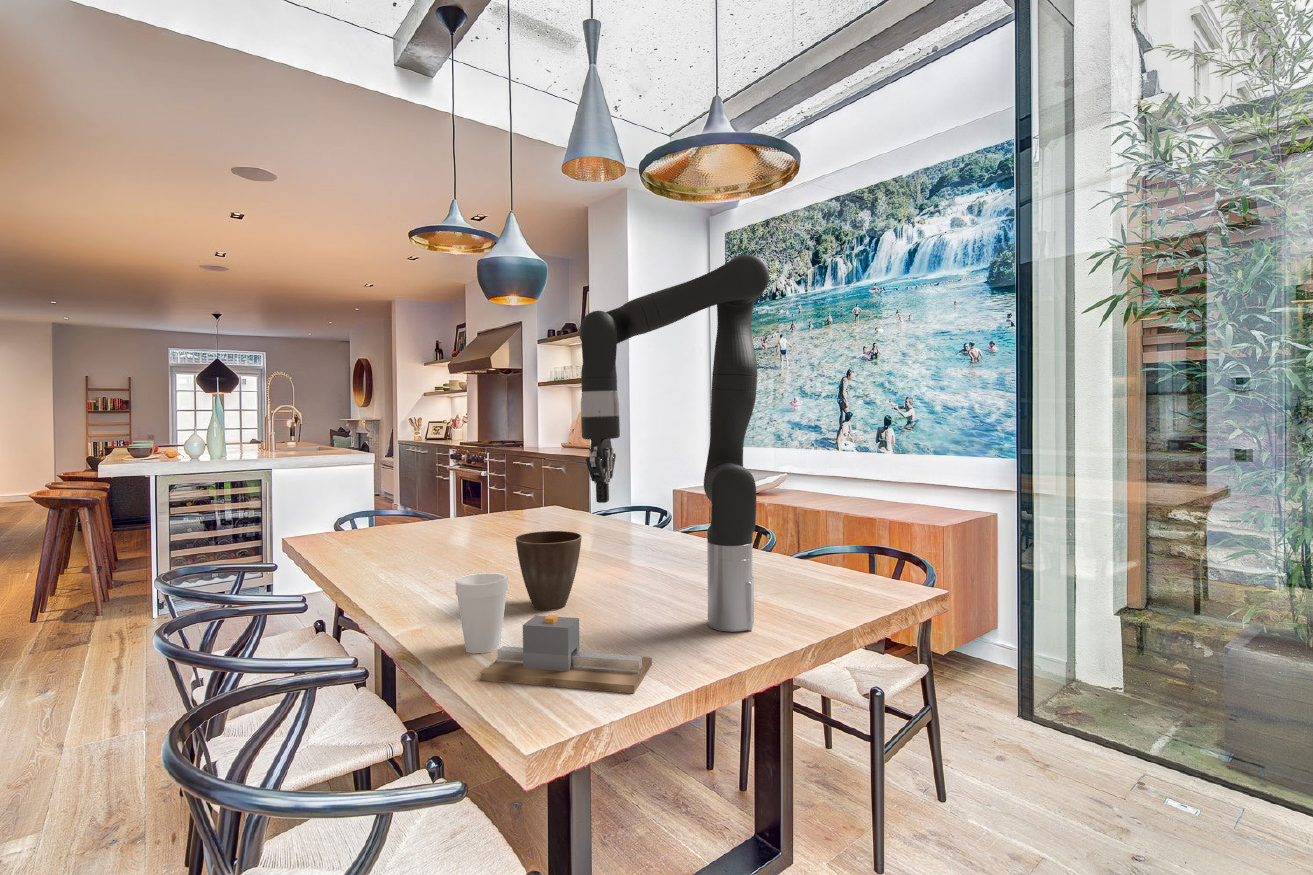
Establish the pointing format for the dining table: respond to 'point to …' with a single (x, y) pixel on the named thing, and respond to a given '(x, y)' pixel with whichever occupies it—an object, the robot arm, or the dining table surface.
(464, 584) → the foam cup
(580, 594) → the dining table surface
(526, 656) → the block
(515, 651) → the rail
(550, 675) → the board
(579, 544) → the plant pot
